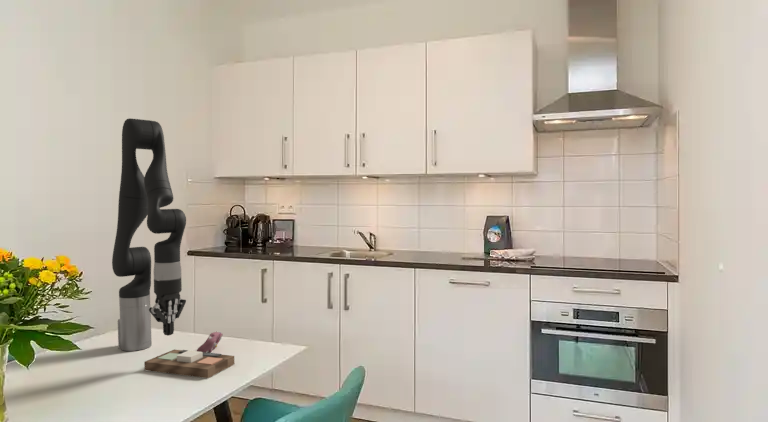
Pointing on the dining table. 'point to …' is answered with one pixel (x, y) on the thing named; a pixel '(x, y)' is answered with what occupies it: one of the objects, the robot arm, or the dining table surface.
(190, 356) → the key ivory
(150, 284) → the robot arm
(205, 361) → the key terracotta
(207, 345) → the video game controller
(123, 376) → the dining table surface
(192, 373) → the brown wooden flat block
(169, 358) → the key sage
